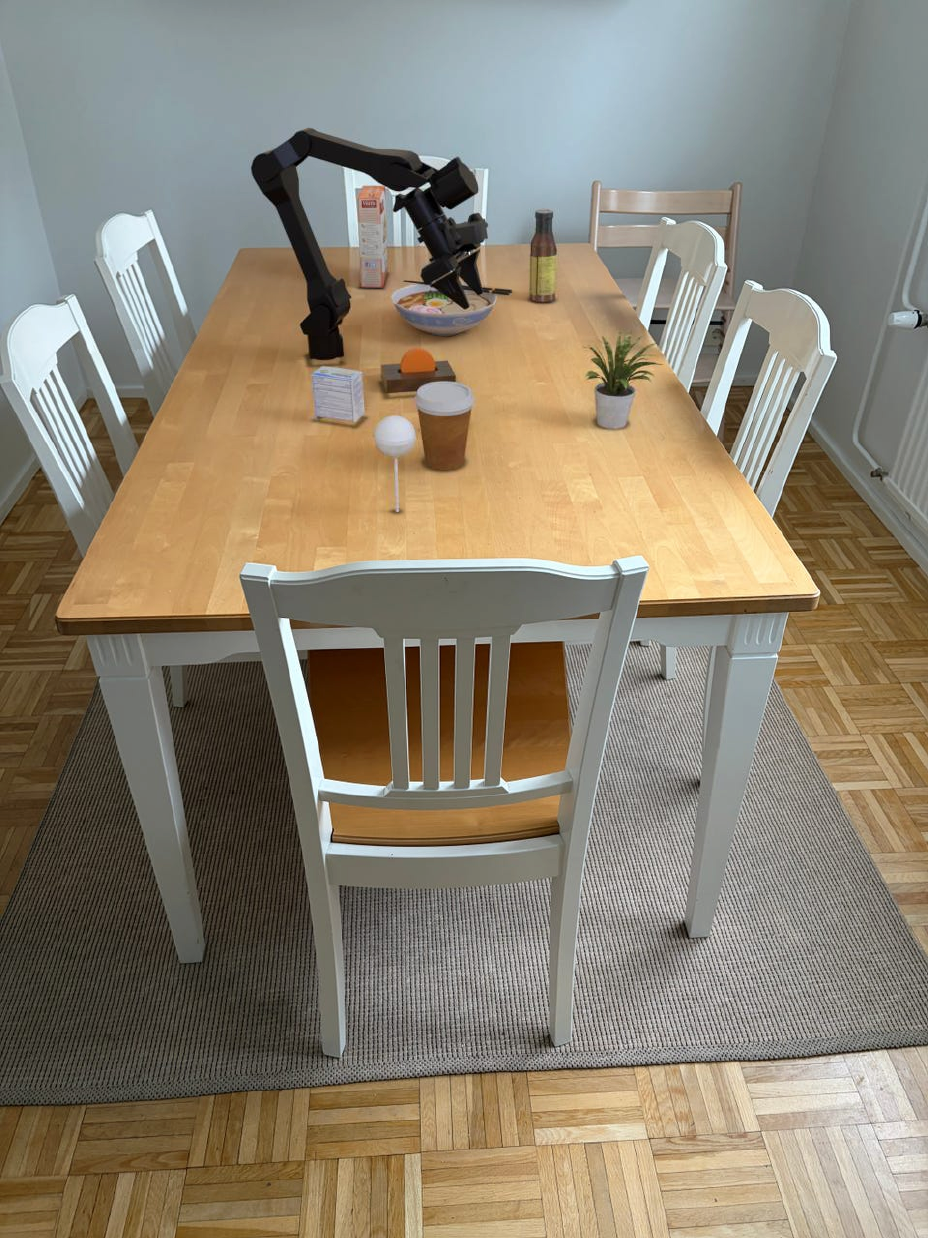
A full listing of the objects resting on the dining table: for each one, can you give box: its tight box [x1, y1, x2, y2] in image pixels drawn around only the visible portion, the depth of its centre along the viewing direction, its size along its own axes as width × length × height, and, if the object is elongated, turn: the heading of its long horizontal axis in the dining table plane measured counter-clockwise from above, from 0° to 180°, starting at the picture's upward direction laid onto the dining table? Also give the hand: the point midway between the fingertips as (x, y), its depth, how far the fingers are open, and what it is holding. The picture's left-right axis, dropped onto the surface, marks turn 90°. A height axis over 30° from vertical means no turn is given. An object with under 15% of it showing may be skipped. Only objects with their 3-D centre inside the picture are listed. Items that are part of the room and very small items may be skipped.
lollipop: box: [373, 414, 417, 513], centre depth 137 cm, size 6×6×15 cm
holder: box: [380, 360, 457, 394], centre depth 180 cm, size 13×8×4 cm, turn 102°
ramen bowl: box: [390, 279, 513, 337], centre depth 205 cm, size 25×23×8 cm
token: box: [399, 347, 436, 373], centre depth 178 cm, size 6×1×6 cm, turn 102°
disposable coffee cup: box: [413, 381, 476, 471], centre depth 152 cm, size 10×10×12 cm
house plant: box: [583, 329, 664, 430], centre depth 163 cm, size 14×14×16 cm
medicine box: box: [310, 365, 366, 423], centre depth 166 cm, size 8×4×9 cm, turn 71°
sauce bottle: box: [528, 208, 558, 304], centre depth 221 cm, size 7×6×20 cm
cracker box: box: [356, 185, 388, 289], centre depth 231 cm, size 14×6×21 cm, turn 179°
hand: (474, 300), depth 176 cm, fingers open, 9 cm apart
